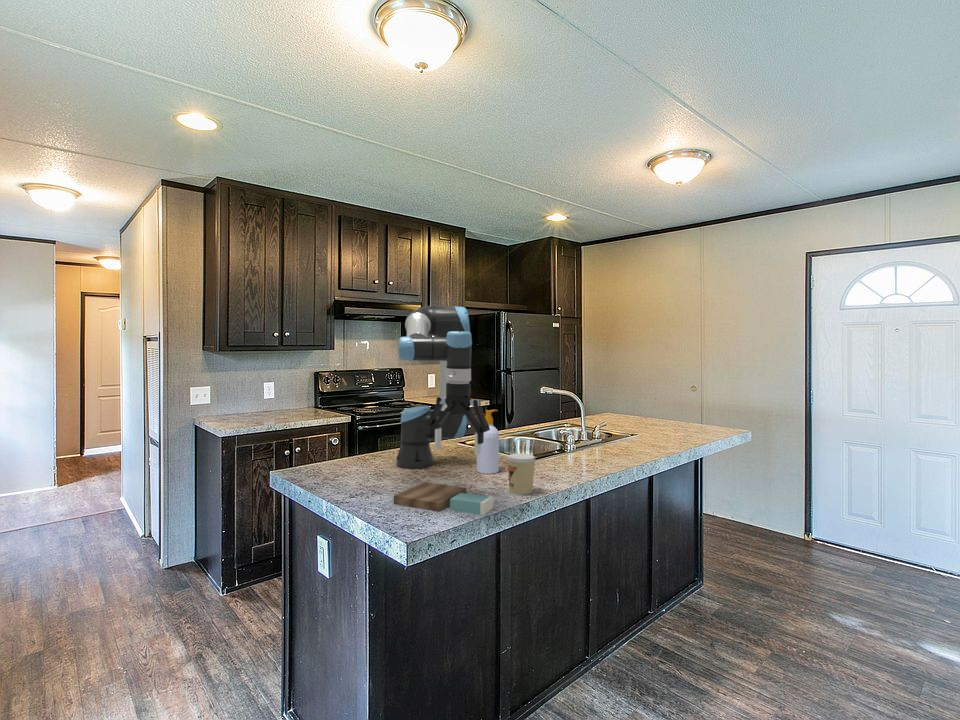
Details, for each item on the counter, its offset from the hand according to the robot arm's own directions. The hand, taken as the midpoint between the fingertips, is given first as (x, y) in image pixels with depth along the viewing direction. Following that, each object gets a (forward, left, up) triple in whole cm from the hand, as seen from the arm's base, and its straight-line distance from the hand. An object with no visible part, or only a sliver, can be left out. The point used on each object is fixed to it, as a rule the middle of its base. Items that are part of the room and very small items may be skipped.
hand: (457, 451), depth 157 cm
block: (0, -1, -15) cm, 15 cm away
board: (-10, +2, -17) cm, 19 cm away
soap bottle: (-9, +44, -17) cm, 48 cm away
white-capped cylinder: (+12, +24, -17) cm, 31 cm away
